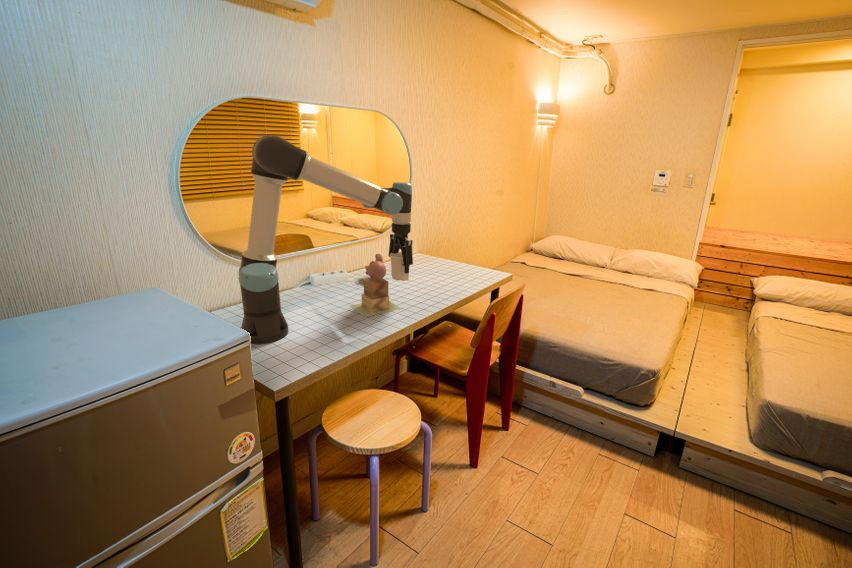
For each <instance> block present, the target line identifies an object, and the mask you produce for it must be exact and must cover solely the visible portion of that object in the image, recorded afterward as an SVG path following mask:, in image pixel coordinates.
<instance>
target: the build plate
mask: <svg viewBox="0 0 852 568" xmlns="http://www.w3.org/2000/svg"><path fill="white" fill-rule="evenodd" d="M349 307H351V308H352V309H353V310H355V311H356V312H358V313H359V315H361V316H362V317H364V318H365V317H371V316H375V315H379V314H384V313H389V312H393V311H397V310H401V309H402V308H401V307H400V306H398V305H397V304H395V303H394V302H392V301H390V300H389V309H384V310H380V311H375V312H370V311H368V310H367V309H366V308H364V307H363V306H362V302H359V303H356V304H351V305H349Z"/></svg>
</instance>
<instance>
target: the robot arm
mask: <svg viewBox="0 0 852 568" xmlns="http://www.w3.org/2000/svg"><path fill="white" fill-rule="evenodd" d="M251 153H252V154H251V155H252V159H251V160H252V161H251V169H250V175H251V176H252V177H253V179H254V188H253V197H252V206H251V213H250V214H251V215H250V222H249V223H250V224H249V231H248V240H247V249H246V250H245V251H243V252H242V253H241V259H240V262H241V263H240V267H239V269H238V282H239V285H240V294H241V301H242V309H243V310H242V311H243V318H242V322H241V326H240V329H241V328H242V329H244V330H246V331H247V332H249V333H250V336H251V343H250V344H255V345H256V344H259V345H260V344H267V343H273V342H276V341H279V340H281V339H283V338H284V337H286V336H287V335H288V334H289V325H288V322H287V320H286V318H285V316H284V313H283V311H282V307H281V306H282V305H281V294H280V286H279V278H280V275H279V273H278V269H277V265H278V264H277V263H278V257H277V255H276V254H275V244H276V237H277V236H276V235H277V229H278V221H279V213H280V205H281V199H282V198H281V195H282V189H283V185H284V184H285V183H287V182H288V181H289V180H288V179H290V180H291V179H292V180H294V181H296V182H297V181H300V180H302V181H305V182H307V183H310V184H312V185H315V186H318V187H320V188H322V189H323V188H324V189H326V190H328V191H330V192H333V193H335V194H338V195H341V196H344V197H345V198H349V200H350V199H351V200H353V201H356V202H358V203H361V204H362V207H363V208H365V209H376V210H378V211H381V212H383V213H385V214H387V215H391V222H392V223H391V232H392V233H390V234H389V247H388V257H389V258H390V254H391V253H394V254H396V253H399V252H401V253H402V257H403V263H404V264H403V265H402V280H401V282H407V281H409V279H410V275H409V274H410V266H411V265H413V264H414V258H413V242H414V241H413V239H409V234H410V233H411V232H412V231H411V230H412V227H411V225H412V223H411V222H412V199H413V186H412V184H411V183H409V182H406V181H405V182H403V181H402V182H401V181H395V182H393V183H392V186H391V187H381V186H379V185H377V184H374V183H372V182H370V181H368V180H365V179H363V178H361V177H358V176H357V175H354V174H351V173H349V172H346V171H345V170H342V169H340V168H338V167H335V166H333V165H331V164H328V163H326V162H324V161H322V160H319V159H317V158H315V157H312V156H310V155H309V152H308V151H307V150H304V149H302V148H300V147H299V146H296V145H295V144H293V143H291V142H289V141H288V140H286V139H285V138H283V137H281V136H278V135H272V134H271V135H270V134H267V135H263V136H261V137H259V138H258V139H256V141H255V142H254V143H253V146H252V149H251ZM400 250H401V251H400ZM390 270H391V271H390V272H391V273H390V276H392V269H390Z"/></svg>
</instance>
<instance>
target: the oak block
mask: <svg viewBox="0 0 852 568" xmlns="http://www.w3.org/2000/svg"><path fill="white" fill-rule="evenodd" d="M389 301H390V295H388V296H387V297H382V298H377V299H371V298H369V297H368V296H366V295H365V294H364V293H361V303H362V306H363V307H364V308H366V309H367V310H368V311H370V312H375V311H380V310H384V309H389Z"/></svg>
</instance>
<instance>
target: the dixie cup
mask: <svg viewBox="0 0 852 568" xmlns="http://www.w3.org/2000/svg"><path fill="white" fill-rule="evenodd" d="M389 258H390V266H391V267H390V268H391V269H392V275H391V278H392V279H393V280H395V281H402V265H403V264H404V263H403V257H402V252H401V251H399V253H396V254H394V253H391V254H390V257H389ZM391 269H390V270H391Z"/></svg>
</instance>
